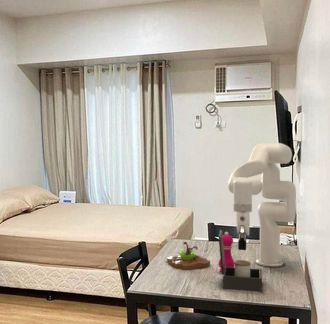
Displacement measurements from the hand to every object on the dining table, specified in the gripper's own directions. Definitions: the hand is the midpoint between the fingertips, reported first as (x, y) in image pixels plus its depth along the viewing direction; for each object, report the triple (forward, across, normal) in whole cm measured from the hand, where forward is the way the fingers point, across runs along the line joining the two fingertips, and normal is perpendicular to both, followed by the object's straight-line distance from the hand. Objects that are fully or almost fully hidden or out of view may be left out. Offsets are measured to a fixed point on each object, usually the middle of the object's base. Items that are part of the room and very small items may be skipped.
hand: (242, 247), depth 207 cm
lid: (+2, 0, +8) cm, 8 cm away
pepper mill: (+17, +19, +7) cm, 27 cm away
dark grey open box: (+17, 0, 0) cm, 17 cm away
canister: (+17, 0, 0) cm, 17 cm away
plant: (+17, +31, +27) cm, 45 cm away
